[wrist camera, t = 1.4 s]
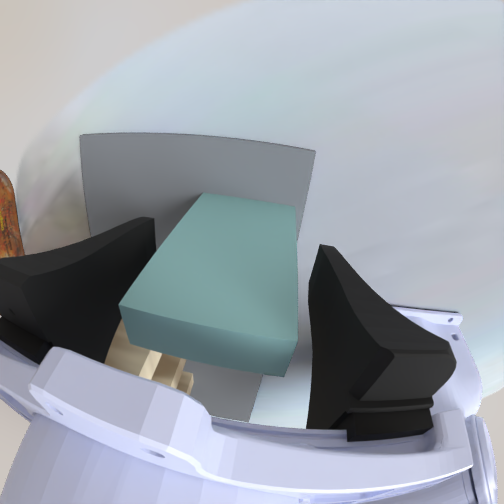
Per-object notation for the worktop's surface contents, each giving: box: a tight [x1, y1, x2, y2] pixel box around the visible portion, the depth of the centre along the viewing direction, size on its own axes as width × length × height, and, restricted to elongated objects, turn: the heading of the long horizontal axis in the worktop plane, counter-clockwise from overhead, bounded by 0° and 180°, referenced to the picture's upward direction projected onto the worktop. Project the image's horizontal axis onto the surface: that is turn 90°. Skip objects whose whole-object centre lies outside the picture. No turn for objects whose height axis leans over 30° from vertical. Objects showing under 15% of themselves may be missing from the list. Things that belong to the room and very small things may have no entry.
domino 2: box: [151, 353, 187, 389], centre depth 18 cm, size 5×2×9 cm, turn 83°
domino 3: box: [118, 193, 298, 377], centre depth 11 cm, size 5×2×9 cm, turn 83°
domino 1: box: [104, 319, 162, 380], centre depth 15 cm, size 5×2×9 cm, turn 83°
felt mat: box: [80, 133, 316, 422], centre depth 21 cm, size 14×31×1 cm, turn 173°
